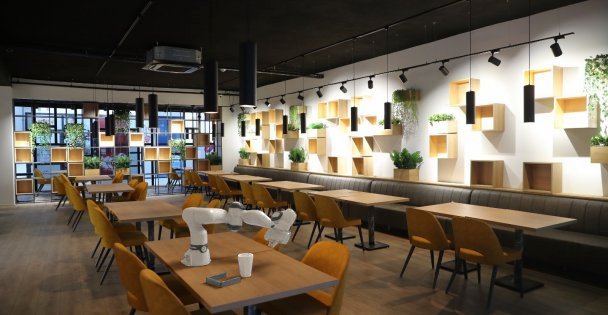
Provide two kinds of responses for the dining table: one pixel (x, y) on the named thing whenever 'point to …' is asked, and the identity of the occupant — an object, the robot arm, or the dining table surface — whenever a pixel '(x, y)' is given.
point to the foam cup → (245, 264)
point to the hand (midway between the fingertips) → (270, 246)
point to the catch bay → (214, 282)
